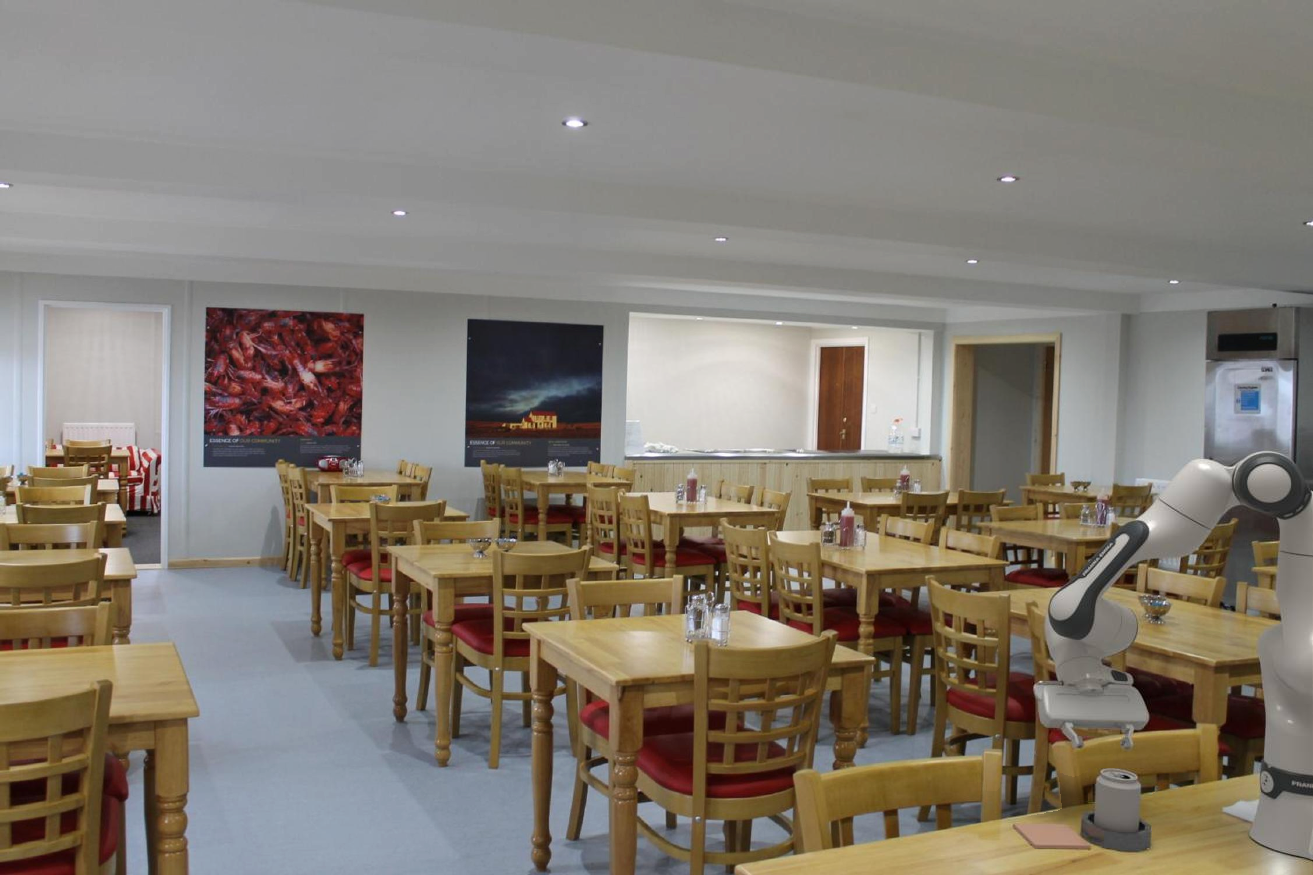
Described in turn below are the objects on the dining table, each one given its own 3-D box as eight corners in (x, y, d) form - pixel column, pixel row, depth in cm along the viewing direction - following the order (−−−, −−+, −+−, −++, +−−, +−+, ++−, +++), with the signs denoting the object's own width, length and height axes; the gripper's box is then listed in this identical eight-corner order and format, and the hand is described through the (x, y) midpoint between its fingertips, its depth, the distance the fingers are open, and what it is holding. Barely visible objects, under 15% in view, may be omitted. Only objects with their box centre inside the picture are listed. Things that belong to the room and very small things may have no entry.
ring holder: (1130, 826, 210) (1131, 810, 210) (1162, 851, 198) (1163, 834, 198) (1070, 825, 209) (1071, 809, 209) (1099, 850, 197) (1100, 833, 197)
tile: (1065, 827, 208) (1065, 824, 208) (1090, 848, 198) (1090, 845, 198) (1012, 826, 207) (1013, 823, 207) (1035, 848, 197) (1035, 844, 197)
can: (1142, 848, 199) (1145, 781, 199) (1097, 843, 200) (1101, 777, 200) (1133, 833, 206) (1136, 768, 206) (1089, 828, 208) (1093, 764, 207)
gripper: (1036, 671, 216) (1055, 737, 206) (1139, 674, 217) (1162, 740, 208) (1025, 688, 220) (1043, 754, 211) (1126, 691, 222) (1149, 756, 212)
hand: (1103, 747), depth 209 cm, fingers open, 8 cm apart
